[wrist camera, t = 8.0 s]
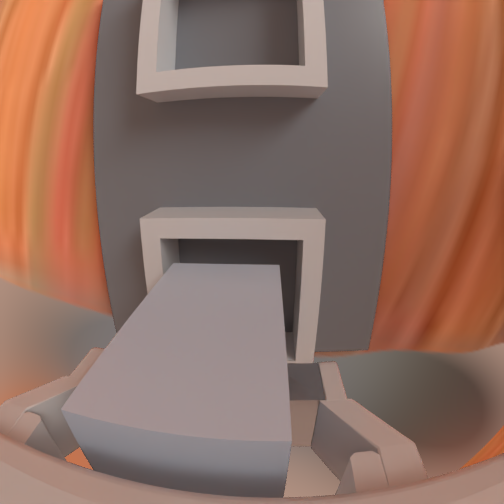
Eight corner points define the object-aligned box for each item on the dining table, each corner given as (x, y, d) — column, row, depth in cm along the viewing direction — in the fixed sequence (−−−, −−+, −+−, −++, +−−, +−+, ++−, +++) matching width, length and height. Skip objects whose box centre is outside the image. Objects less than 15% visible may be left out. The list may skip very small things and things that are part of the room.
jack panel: (373, -18, 11) (394, -50, 8) (363, 340, 17) (380, 378, 14) (113, -7, 12) (83, -32, 8) (124, 331, 18) (100, 365, 14)
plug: (279, 264, 12) (292, 441, 4) (275, 368, 13) (275, 539, 6) (173, 262, 12) (60, 409, 4) (184, 364, 13) (128, 520, 6)
